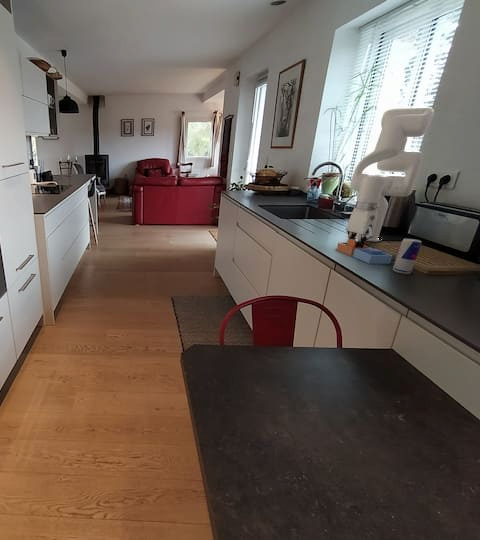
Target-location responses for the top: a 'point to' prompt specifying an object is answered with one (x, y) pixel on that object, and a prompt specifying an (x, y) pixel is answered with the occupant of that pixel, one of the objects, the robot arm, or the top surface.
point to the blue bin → (372, 257)
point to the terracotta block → (352, 242)
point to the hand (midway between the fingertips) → (354, 248)
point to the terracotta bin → (348, 248)
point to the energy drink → (407, 256)
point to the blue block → (373, 251)
